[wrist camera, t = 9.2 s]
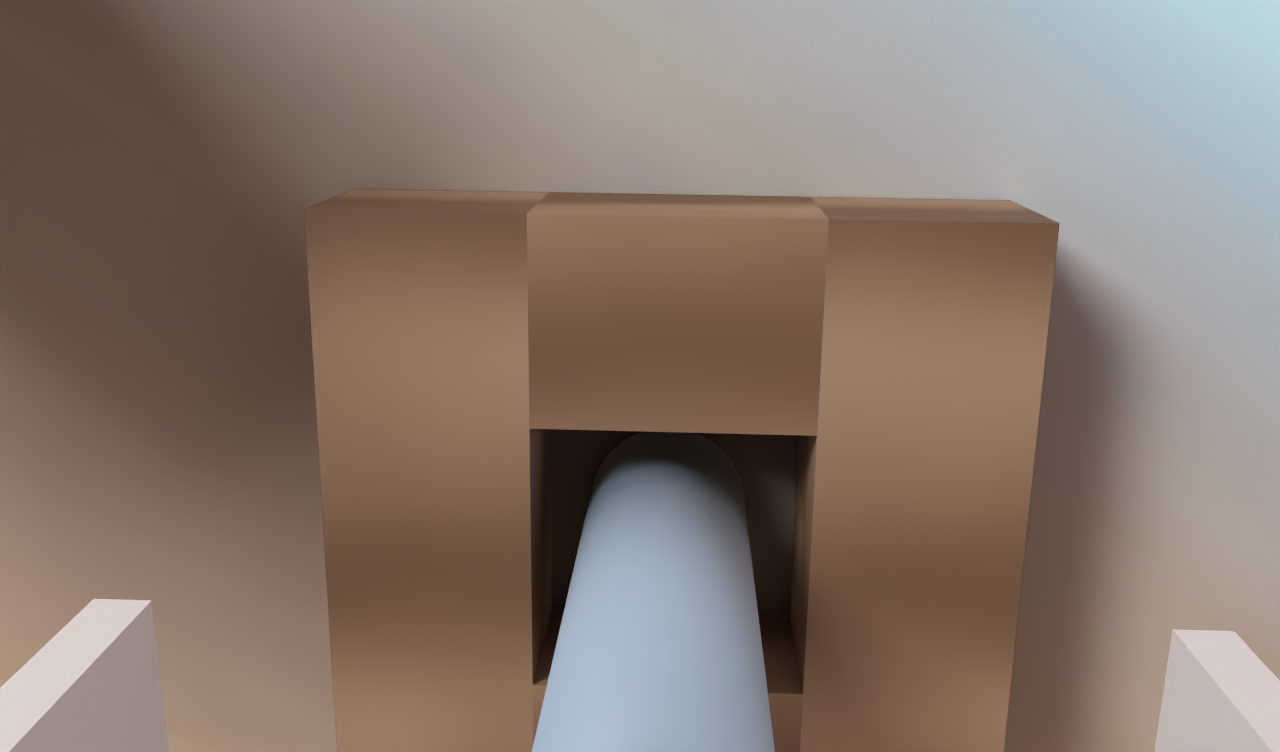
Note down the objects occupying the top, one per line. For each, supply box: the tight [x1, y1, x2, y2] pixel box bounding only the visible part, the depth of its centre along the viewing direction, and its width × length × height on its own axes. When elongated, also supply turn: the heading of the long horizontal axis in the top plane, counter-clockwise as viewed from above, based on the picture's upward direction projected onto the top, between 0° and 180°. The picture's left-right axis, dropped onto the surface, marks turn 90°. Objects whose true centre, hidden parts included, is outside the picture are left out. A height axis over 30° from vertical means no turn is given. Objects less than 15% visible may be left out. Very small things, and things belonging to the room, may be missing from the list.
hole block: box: [304, 189, 1059, 752], centre depth 22 cm, size 12×12×3 cm
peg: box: [532, 431, 775, 752], centre depth 18 cm, size 3×3×11 cm
